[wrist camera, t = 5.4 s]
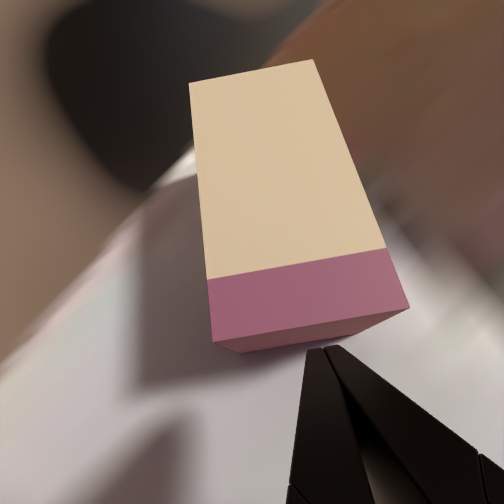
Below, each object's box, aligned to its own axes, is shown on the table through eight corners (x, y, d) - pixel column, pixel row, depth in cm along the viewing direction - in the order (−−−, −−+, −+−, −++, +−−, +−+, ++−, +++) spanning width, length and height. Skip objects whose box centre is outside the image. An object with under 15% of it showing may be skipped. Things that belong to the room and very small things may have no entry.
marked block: (410, 307, 8) (312, 59, 13) (212, 342, 8) (188, 83, 13) (357, 333, 14) (302, 151, 19) (239, 353, 14) (215, 167, 19)
